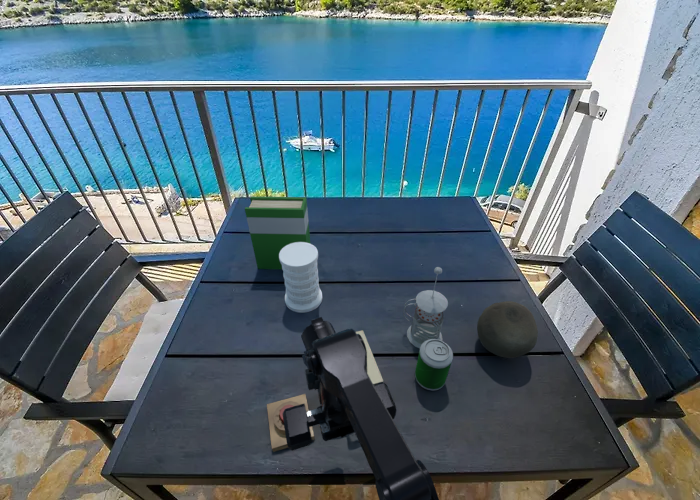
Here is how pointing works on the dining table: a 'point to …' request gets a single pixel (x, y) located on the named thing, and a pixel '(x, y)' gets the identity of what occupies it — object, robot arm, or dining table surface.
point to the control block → (277, 425)
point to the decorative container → (301, 276)
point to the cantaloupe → (507, 329)
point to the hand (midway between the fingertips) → (340, 435)
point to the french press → (427, 315)
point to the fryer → (371, 362)
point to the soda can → (433, 364)
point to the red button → (283, 411)
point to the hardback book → (276, 227)
